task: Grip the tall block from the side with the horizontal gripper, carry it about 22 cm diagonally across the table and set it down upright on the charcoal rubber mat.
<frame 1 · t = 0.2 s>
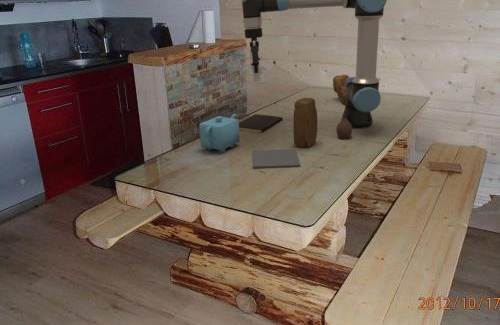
hand: (257, 78, 198), 27 cm above the table, tool pointing down, fingers open, 13 cm apart
rough brown rock: (350, 102, 260), on the table
vase: (344, 138, 201), on the table
block: (305, 144, 195), on the table
teapot: (223, 146, 197), on the table
hardcover book: (258, 126, 226), on the table
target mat: (275, 159, 179), on the table
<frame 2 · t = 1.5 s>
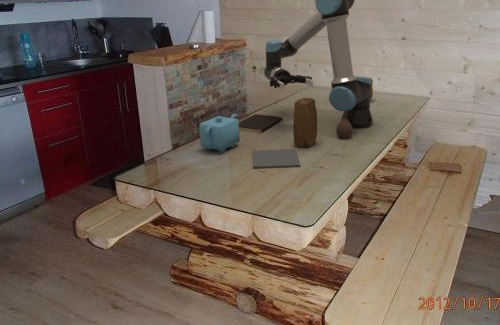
hand: (297, 85, 195), 24 cm above the table, tool horizontal, fingers open, 13 cm apart
nothing on the table moved.
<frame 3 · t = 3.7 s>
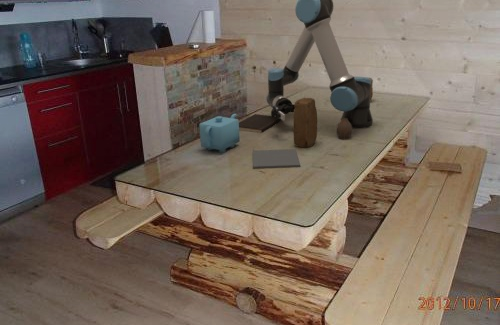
hand: (298, 116, 197), 11 cm above the table, tool horizontal, fingers open, 13 cm apart
nothing on the table moved.
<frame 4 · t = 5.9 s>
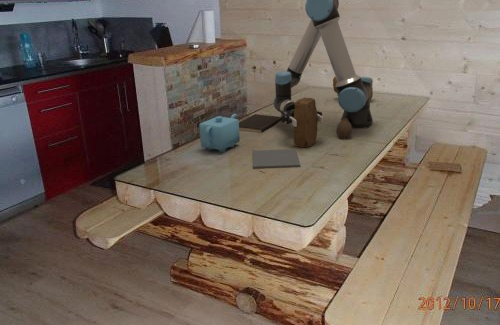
hand: (309, 122, 188), 11 cm above the table, tool horizontal, fingers closed on block, 11 cm apart
block: (305, 144, 195), on the table, touching gripper
everything else where it was.
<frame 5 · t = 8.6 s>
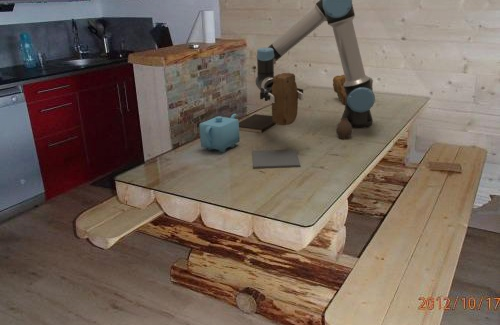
hand: (288, 98, 177), 23 cm above the table, tool horizontal, fingers closed on block, 11 cm apart
block: (285, 123, 185), point 12 cm above the table, touching gripper
everything else where it was.
when the fingers open (13 cm above the table, at t = 11.5 s): block drops 1 cm, resting on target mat.
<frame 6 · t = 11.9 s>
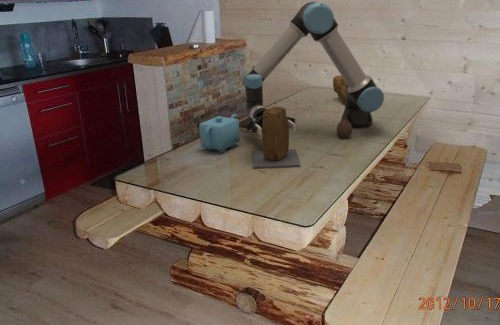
hand: (277, 129, 172), 13 cm above the table, tool horizontal, fingers open, 13 cm apart
block: (276, 157, 179), point 1 cm above the table, touching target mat
everything else where it was.
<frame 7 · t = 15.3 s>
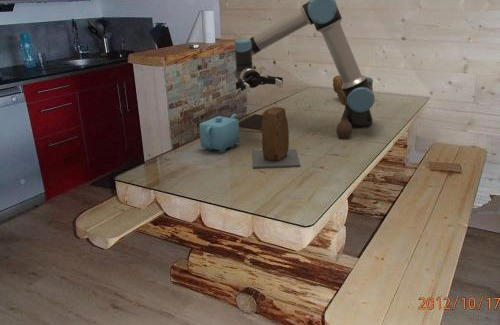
hand: (265, 86, 178), 27 cm above the table, tool horizontal, fingers open, 13 cm apart
nothing on the table moved.
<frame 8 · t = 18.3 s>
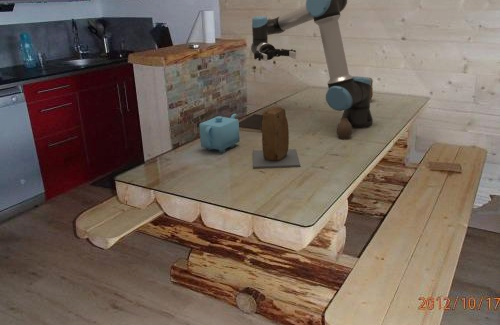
hand: (280, 56, 200), 35 cm above the table, tool horizontal, fingers open, 13 cm apart
nothing on the table moved.
at the end: block inside the target area on the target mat (0.4 cm from its centre), point 0.6 cm above the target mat's base; block tilted 0°; the gripper is holding nothing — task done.
